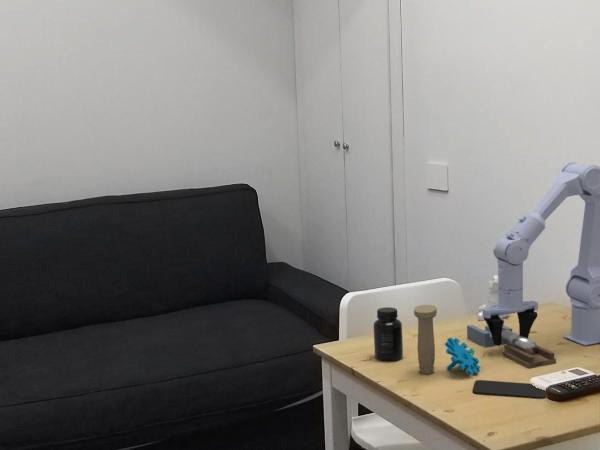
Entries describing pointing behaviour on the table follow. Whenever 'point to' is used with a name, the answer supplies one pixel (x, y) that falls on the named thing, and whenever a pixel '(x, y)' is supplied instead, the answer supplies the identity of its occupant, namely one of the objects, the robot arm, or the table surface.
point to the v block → (482, 335)
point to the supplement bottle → (388, 335)
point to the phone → (507, 389)
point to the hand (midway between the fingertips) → (510, 342)
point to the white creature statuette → (491, 298)
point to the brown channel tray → (529, 356)
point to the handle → (426, 337)
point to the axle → (519, 342)
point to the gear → (462, 356)
